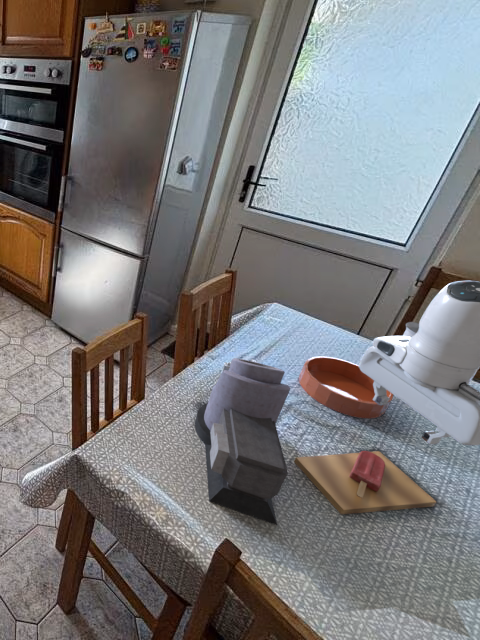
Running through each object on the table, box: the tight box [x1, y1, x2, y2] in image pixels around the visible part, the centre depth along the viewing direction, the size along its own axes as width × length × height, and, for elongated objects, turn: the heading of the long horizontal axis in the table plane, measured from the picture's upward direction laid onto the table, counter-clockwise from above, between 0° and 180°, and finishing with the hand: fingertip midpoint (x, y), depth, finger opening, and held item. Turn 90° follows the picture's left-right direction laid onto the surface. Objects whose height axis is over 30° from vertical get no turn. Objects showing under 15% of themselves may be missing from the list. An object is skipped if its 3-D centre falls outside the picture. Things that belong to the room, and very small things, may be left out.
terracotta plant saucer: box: [298, 355, 394, 420], centre depth 110 cm, size 18×18×5 cm
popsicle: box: [349, 450, 385, 498], centre depth 87 cm, size 4×2×15 cm
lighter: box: [220, 359, 257, 374], centre depth 115 cm, size 7×2×8 cm, turn 58°
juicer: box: [194, 357, 291, 526], centre depth 89 cm, size 30×16×24 cm, turn 155°
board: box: [293, 450, 437, 515], centre depth 88 cm, size 20×12×2 cm, turn 94°
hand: (402, 421), depth 80 cm, fingers open, 8 cm apart
